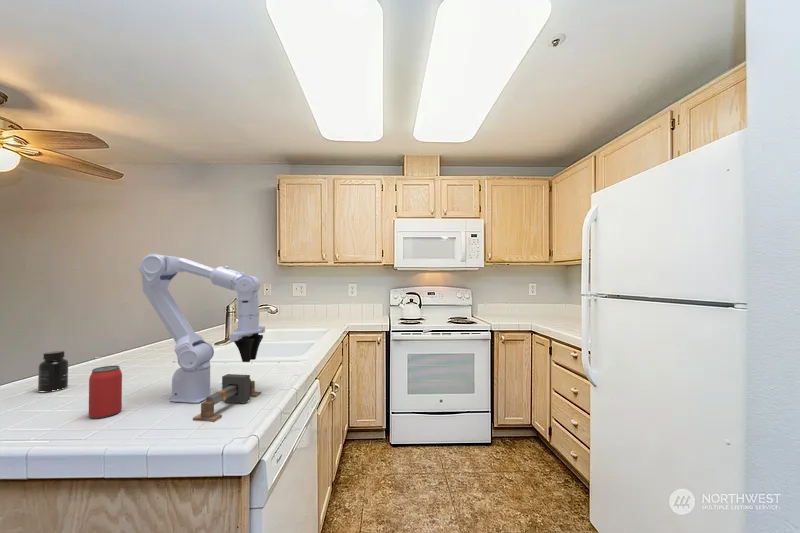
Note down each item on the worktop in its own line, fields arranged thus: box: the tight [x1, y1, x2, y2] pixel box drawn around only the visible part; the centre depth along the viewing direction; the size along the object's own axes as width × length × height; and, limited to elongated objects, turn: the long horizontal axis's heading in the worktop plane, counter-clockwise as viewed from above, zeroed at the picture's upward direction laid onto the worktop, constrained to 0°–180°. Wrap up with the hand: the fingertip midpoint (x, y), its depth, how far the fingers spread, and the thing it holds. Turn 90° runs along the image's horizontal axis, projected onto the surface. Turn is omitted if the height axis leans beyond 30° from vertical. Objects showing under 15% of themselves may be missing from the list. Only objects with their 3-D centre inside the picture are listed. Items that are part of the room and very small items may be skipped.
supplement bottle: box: [37, 350, 69, 392], centre depth 112 cm, size 7×7×12 cm
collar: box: [221, 373, 251, 404], centre depth 98 cm, size 7×2×7 cm, turn 80°
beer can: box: [88, 365, 123, 419], centre depth 91 cm, size 7×7×12 cm
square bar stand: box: [192, 378, 262, 422], centre depth 95 cm, size 6×20×5 cm, turn 170°
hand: (249, 360), depth 104 cm, fingers open, 2 cm apart
